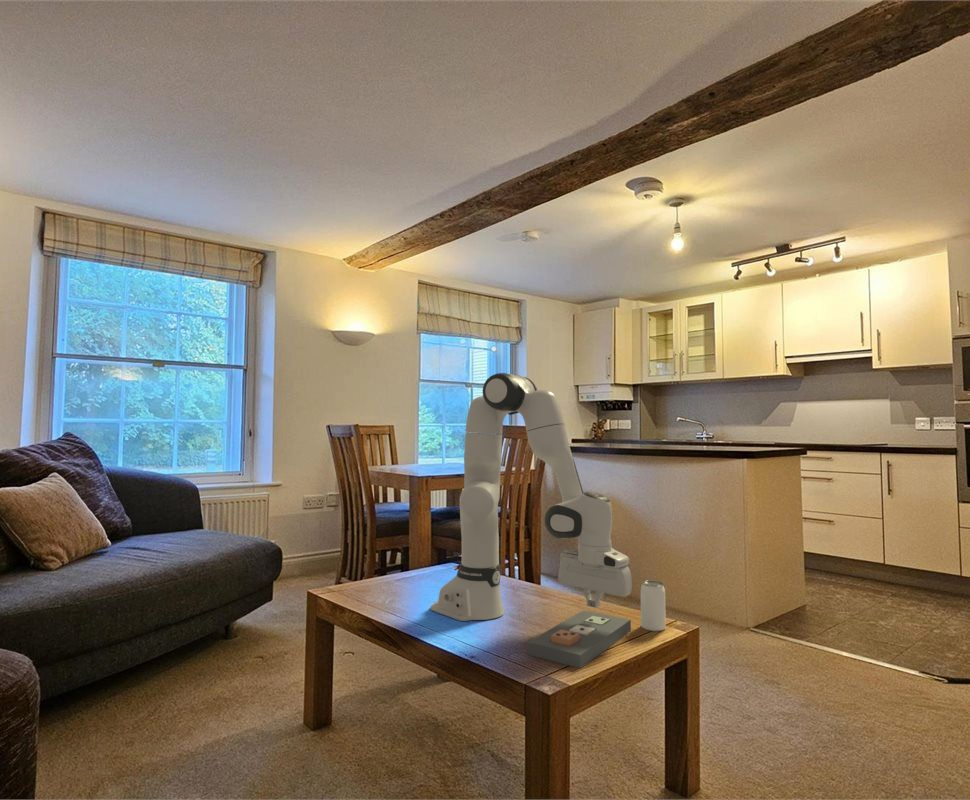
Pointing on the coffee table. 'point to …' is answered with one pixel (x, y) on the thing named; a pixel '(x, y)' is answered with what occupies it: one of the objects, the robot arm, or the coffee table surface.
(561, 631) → the three dot button
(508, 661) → the coffee table surface
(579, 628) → the one dot button
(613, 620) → the button board
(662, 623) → the can
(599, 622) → the two dot button
